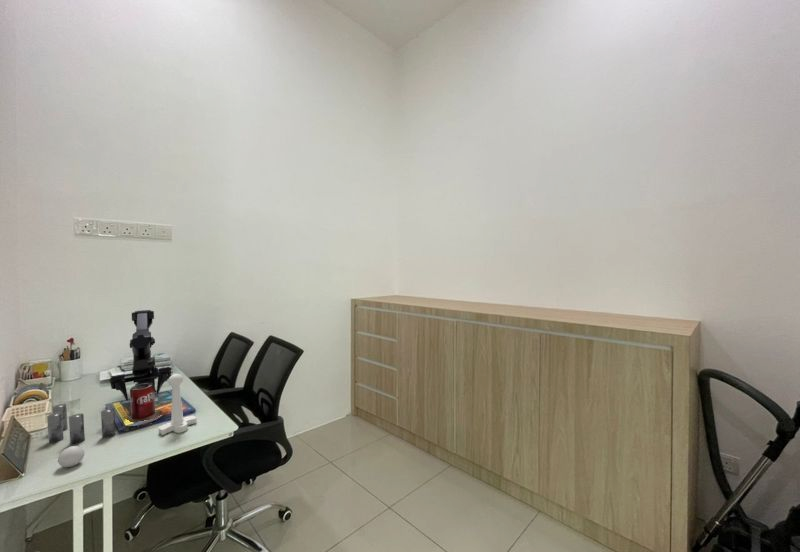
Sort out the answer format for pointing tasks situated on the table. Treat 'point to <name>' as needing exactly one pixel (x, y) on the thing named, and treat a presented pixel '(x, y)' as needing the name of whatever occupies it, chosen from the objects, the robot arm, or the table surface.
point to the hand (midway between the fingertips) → (142, 397)
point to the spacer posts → (76, 425)
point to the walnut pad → (157, 413)
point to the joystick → (176, 409)
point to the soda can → (142, 401)
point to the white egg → (71, 456)
